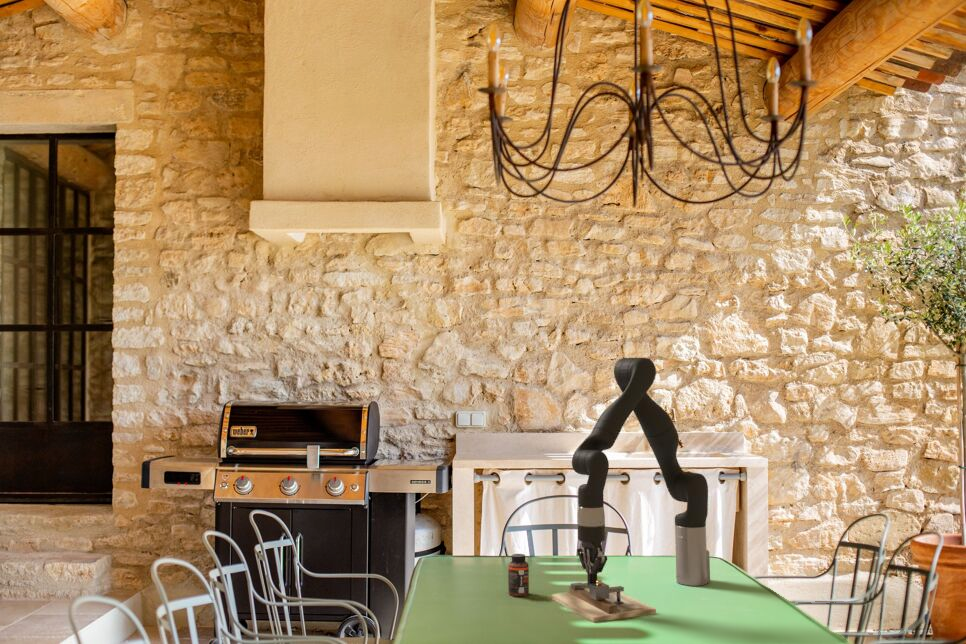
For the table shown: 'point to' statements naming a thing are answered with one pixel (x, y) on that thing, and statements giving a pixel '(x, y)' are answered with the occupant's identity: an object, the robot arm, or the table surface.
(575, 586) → the bar
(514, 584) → the supplement bottle
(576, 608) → the wooden slider puzzle board
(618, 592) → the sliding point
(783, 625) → the table surface
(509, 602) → the table surface
